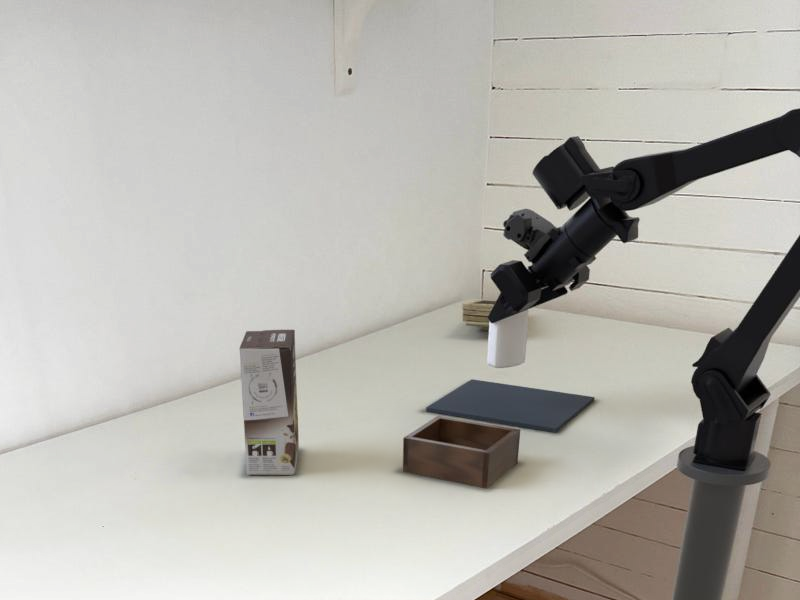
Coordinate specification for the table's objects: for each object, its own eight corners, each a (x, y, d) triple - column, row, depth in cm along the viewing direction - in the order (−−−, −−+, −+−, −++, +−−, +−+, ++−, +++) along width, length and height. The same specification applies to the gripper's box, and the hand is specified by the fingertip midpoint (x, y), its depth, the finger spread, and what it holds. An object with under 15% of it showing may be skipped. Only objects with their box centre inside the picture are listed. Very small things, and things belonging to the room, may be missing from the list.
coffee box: (296, 475, 125) (291, 347, 117) (245, 475, 125) (237, 347, 117) (300, 450, 133) (296, 327, 124) (252, 450, 133) (245, 328, 125)
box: (459, 332, 178) (462, 303, 177) (475, 324, 199) (478, 297, 197) (505, 335, 176) (508, 305, 175) (517, 326, 197) (520, 300, 195)
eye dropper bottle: (484, 360, 144) (488, 274, 137) (523, 359, 143) (529, 273, 137) (488, 369, 140) (493, 280, 134) (528, 367, 140) (535, 279, 134)
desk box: (517, 463, 127) (520, 429, 124) (487, 488, 120) (489, 453, 117) (436, 448, 132) (437, 415, 130) (402, 471, 125) (403, 437, 123)
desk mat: (594, 400, 148) (594, 396, 147) (555, 432, 136) (556, 428, 136) (471, 382, 157) (471, 379, 157) (425, 411, 145) (425, 407, 145)
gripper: (577, 180, 134) (501, 259, 145) (508, 196, 121) (431, 281, 133) (625, 246, 133) (544, 320, 145) (561, 269, 121) (478, 348, 133)
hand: (500, 316), depth 139 cm, fingers closed on eye dropper bottle, 5 cm apart
